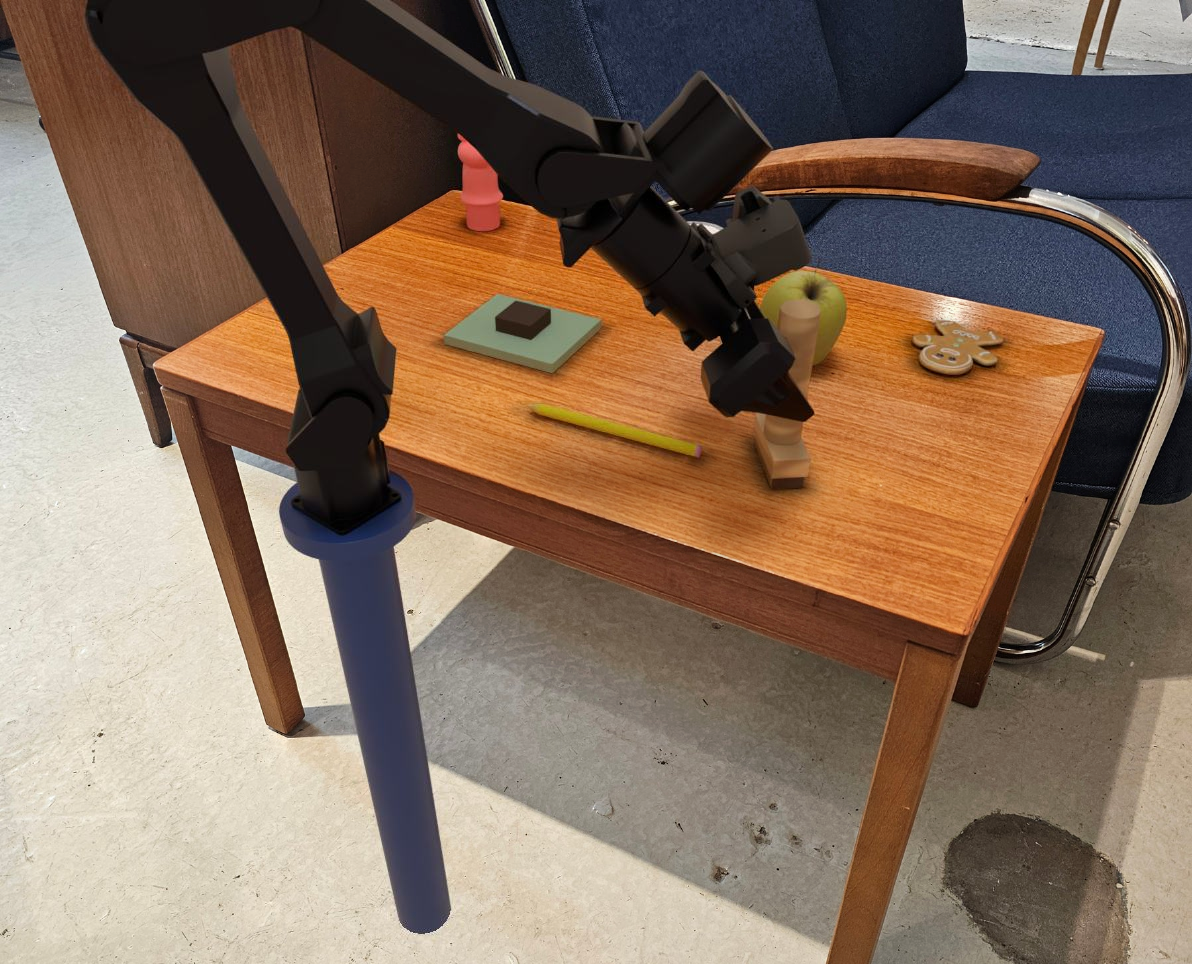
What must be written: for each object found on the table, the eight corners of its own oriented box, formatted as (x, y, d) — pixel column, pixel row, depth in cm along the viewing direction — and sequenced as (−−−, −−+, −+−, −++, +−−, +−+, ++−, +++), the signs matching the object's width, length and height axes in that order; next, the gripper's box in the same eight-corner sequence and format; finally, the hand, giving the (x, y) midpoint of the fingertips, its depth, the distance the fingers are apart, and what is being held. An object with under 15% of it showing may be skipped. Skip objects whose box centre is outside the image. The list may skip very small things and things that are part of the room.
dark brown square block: (531, 340, 101) (530, 326, 100) (495, 331, 102) (494, 316, 101) (551, 322, 103) (551, 308, 102) (516, 314, 105) (515, 299, 104)
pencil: (701, 453, 88) (702, 443, 87) (697, 459, 87) (697, 449, 87) (528, 407, 93) (527, 397, 93) (522, 412, 93) (522, 402, 92)
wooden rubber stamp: (769, 491, 84) (791, 331, 75) (751, 442, 89) (770, 288, 80) (806, 489, 84) (833, 330, 75) (785, 441, 90) (808, 286, 80)
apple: (745, 324, 103) (788, 233, 96) (820, 355, 103) (868, 265, 97) (736, 365, 97) (782, 270, 90) (816, 396, 98) (867, 305, 91)
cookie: (1015, 334, 102) (982, 377, 96) (1013, 343, 103) (979, 386, 96) (933, 311, 105) (895, 351, 99) (931, 320, 106) (893, 360, 100)
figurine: (455, 231, 122) (443, 94, 112) (466, 214, 126) (456, 79, 116) (498, 235, 121) (490, 97, 111) (508, 217, 125) (501, 82, 115)
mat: (552, 373, 98) (552, 364, 97) (444, 344, 102) (443, 334, 101) (601, 328, 105) (601, 319, 104) (498, 302, 109) (497, 293, 108)
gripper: (779, 226, 63) (919, 378, 72) (721, 123, 77) (844, 261, 86) (646, 350, 68) (792, 479, 76) (613, 232, 82) (740, 353, 90)
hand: (794, 385), depth 82 cm, fingers open, 9 cm apart
